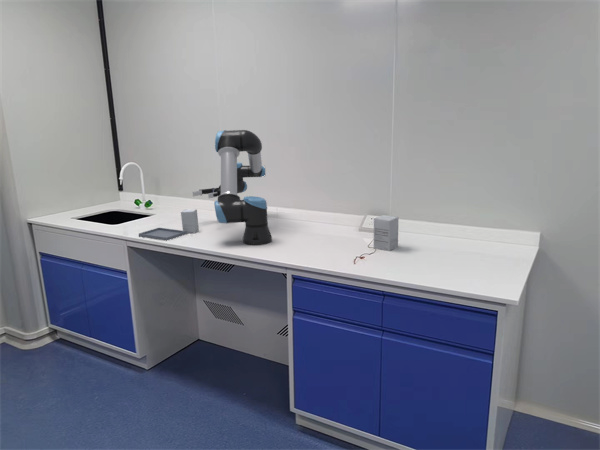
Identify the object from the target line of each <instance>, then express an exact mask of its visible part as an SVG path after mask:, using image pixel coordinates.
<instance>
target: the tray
mask: <svg viewBox="0 0 600 450" xmlns="http://www.w3.org/2000/svg"><path fill="white" fill-rule="evenodd" d="M185 234H186V235H187V234H188V233H187V232H186V231H183V230H181V229H180V230H179V229H173V228H172V229H171V228H166V227H165V228H164V227H156V228H153V229H149V230H147V231H143V232H139V233H138V237H141V238H146V239H153V240H160V241H165V240H166V241H167V240H168V241H170V239H171V240H173V238H174V239H176V237H177V238H180V237H183V236H185ZM182 235H183V236H182ZM179 236H180V237H179ZM168 241H167V242H168Z"/></svg>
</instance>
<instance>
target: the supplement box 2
mask: <svg viewBox="0 0 600 450" xmlns="http://www.w3.org/2000/svg"><path fill="white" fill-rule="evenodd" d="M398 247H399V216H392V215H388V214H387V215H385V214H383V215H379V216H377V217H374V218H373V249H377V250H383V251H388V252H390V251H393V250H394V249H396V248H398Z"/></svg>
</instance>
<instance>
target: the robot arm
mask: <svg viewBox="0 0 600 450" xmlns="http://www.w3.org/2000/svg"><path fill="white" fill-rule="evenodd" d="M214 147H215V148H214V149H215V152H216V153H217V154H218V156H219V157H220V185H219V186H218V187H212V188H203V189H199V190H194V191H192V197H196V196H202V195H208V196H207V198H208V199H211V198H217V200H215V201H214V203H213V204H214V211H215V216H216V221H217V222H218V223H219V224H235V223H244V226H245V228H244V231H243V236H242V242H243V244H246V245H250V246H251V245H253V246H254V245H255V246H260V245H265V244H270V243H271V242H273V241H272V240H273V239H272V238H273V237H272V233H271V231H270V227H269V226H268V206H267V205H268V202H267V200H266V199H265V198H264V197H261V196H252V195H251V196H248V195H247V196H244V197H243V198H242V199H241V197H240V195H238V194H242V193H245V192H246V191H247V190H248V184H247V182H246V181H245V180H244V178H262V176H264V175H265V176H266V167H265V168H264V167H263V166H262V165H263V164H262V161H263V160H262V153H261V152H262V149H263V144H262V141H261V139H260V137H258V135H256V134H255V133H254V132H252V131H250V130H248V129H237V130H236V129H235V130H226V129H225V130H220V131H217V133H216V134H215V141H214ZM240 152H246V153H247V156H248V163H249V164H248V165H243V162H238V158H239V156H240ZM265 176H264V177H265Z"/></svg>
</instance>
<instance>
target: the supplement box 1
mask: <svg viewBox="0 0 600 450" xmlns="http://www.w3.org/2000/svg"><path fill="white" fill-rule="evenodd" d="M180 216H181V225H182V226H181V227H182V231H186V232H187V234H196V233H197V232H198V231H199V229H200V227H199V218H198V216H199V215H198V209H194V208H193V209H189V208H188V209H187V208H186V209H184V210H182V211H180Z"/></svg>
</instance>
